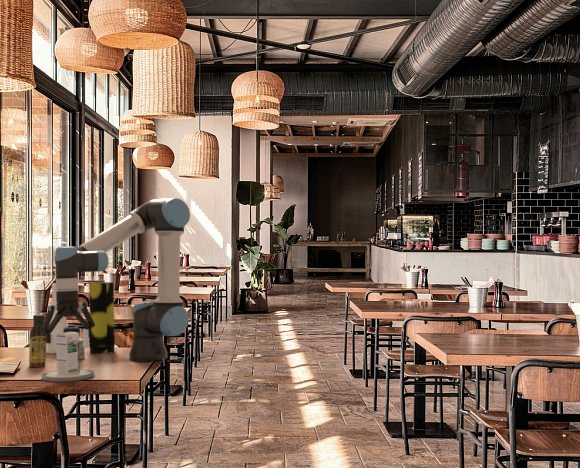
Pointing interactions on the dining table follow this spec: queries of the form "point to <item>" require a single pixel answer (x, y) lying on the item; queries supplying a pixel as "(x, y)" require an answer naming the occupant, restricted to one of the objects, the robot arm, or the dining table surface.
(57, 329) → the wine bottle
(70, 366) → the syrup box
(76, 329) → the container
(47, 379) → the dish
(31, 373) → the dining table surface
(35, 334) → the sauce bottle
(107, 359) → the dining table surface
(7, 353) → the dining table surface
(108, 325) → the container
